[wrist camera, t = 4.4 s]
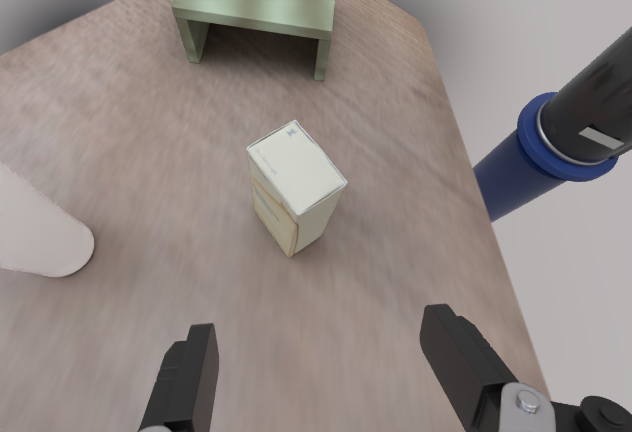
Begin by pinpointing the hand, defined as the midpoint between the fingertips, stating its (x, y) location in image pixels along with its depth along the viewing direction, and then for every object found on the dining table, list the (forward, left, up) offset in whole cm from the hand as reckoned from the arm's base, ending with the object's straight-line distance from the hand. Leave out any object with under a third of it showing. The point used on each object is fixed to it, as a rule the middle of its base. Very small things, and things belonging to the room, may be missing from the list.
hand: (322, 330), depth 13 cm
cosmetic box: (+2, -11, -19) cm, 22 cm away
